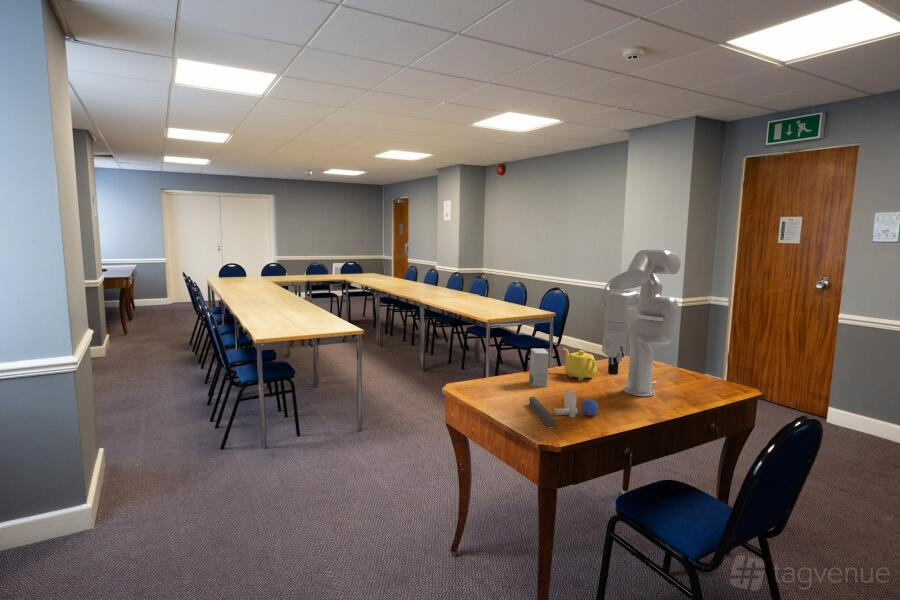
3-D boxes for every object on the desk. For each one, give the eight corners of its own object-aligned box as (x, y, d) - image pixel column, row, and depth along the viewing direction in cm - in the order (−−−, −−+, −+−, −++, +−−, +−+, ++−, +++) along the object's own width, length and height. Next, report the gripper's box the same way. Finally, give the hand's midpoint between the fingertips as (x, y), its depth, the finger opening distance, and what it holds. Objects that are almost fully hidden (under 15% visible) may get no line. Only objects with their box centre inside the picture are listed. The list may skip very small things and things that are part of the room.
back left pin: (572, 415, 182) (573, 393, 181) (576, 417, 180) (577, 394, 179) (567, 416, 181) (568, 394, 180) (572, 418, 179) (573, 395, 178)
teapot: (584, 384, 221) (585, 356, 219) (552, 373, 237) (553, 347, 236) (604, 379, 228) (606, 352, 226) (572, 369, 245) (573, 344, 243)
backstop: (534, 404, 194) (534, 396, 193) (554, 427, 170) (554, 419, 170) (529, 404, 193) (529, 396, 193) (548, 428, 170) (549, 419, 169)
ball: (578, 397, 184) (583, 408, 187) (579, 409, 180) (584, 420, 182) (594, 394, 182) (599, 405, 185) (595, 405, 177) (600, 417, 180)
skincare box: (528, 381, 223) (530, 348, 221) (543, 381, 224) (544, 348, 222) (533, 387, 215) (534, 352, 213) (548, 387, 216) (549, 352, 214)
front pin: (575, 408, 185) (553, 409, 184) (577, 407, 183) (555, 408, 181) (576, 415, 184) (554, 415, 183) (578, 414, 182) (556, 414, 181)
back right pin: (567, 410, 187) (568, 388, 186) (571, 412, 185) (572, 390, 184) (562, 411, 186) (563, 389, 185) (567, 413, 184) (568, 391, 183)
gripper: (597, 322, 188) (594, 368, 190) (615, 329, 173) (612, 380, 175) (616, 322, 188) (613, 368, 191) (635, 329, 174) (632, 379, 176)
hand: (612, 374), depth 183 cm, fingers closed
